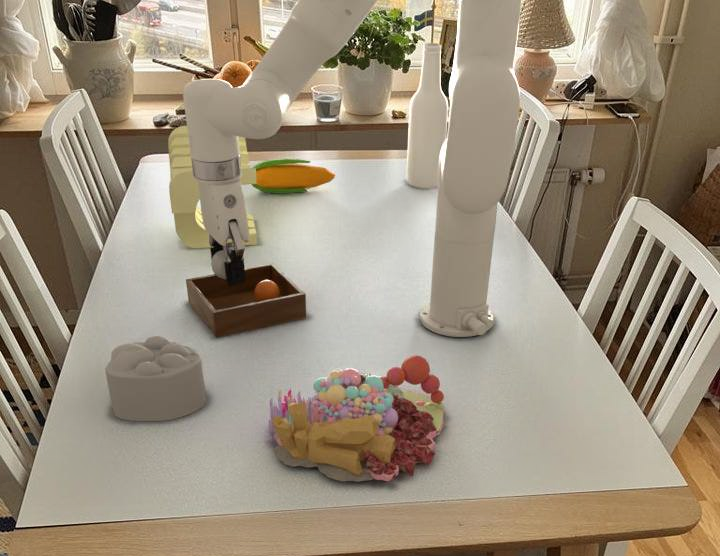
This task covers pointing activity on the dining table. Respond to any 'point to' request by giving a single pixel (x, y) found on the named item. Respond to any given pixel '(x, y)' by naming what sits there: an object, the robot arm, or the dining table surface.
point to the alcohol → (427, 122)
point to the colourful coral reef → (361, 423)
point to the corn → (289, 176)
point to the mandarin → (266, 291)
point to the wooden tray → (245, 301)
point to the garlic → (219, 264)
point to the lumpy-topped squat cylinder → (155, 380)
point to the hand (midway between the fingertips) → (229, 275)
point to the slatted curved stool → (197, 191)
